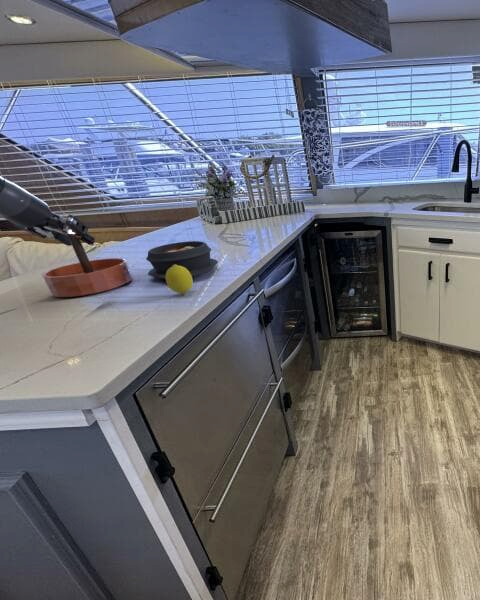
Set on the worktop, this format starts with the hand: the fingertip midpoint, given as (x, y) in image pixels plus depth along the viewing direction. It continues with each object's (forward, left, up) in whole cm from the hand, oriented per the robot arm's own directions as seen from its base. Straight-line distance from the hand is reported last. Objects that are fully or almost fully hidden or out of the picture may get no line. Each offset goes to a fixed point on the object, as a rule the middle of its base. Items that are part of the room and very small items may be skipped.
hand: (81, 242), depth 88 cm
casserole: (+22, +2, -13) cm, 25 cm away
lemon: (+27, -19, -13) cm, 35 cm away
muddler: (0, -2, -12) cm, 12 cm away
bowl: (0, -2, -12) cm, 13 cm away
